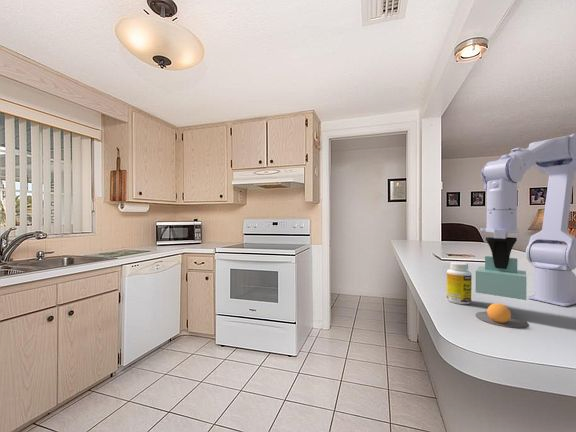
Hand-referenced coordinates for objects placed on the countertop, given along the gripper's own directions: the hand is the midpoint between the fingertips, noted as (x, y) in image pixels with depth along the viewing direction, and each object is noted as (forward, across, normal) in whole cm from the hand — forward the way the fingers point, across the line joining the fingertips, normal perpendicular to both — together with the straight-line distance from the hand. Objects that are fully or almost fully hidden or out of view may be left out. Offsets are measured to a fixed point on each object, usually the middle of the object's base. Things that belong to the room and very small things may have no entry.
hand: (501, 267), depth 65 cm
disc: (+10, +6, 0) cm, 12 cm away
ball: (+8, +9, 0) cm, 12 cm away
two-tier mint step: (+6, 0, 0) cm, 6 cm away
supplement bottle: (+11, -3, -9) cm, 14 cm away
